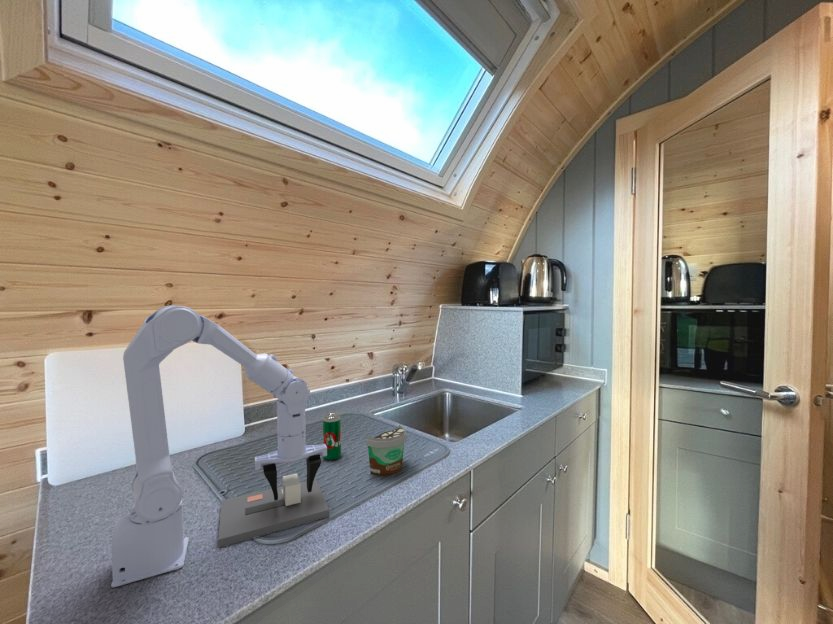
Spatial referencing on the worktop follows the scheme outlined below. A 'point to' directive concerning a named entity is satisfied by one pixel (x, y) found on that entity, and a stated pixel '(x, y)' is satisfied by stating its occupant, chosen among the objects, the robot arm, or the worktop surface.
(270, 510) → the switch panel
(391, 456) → the food container
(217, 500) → the worktop surface
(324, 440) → the soda can
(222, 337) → the robot arm
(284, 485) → the breaker knob
